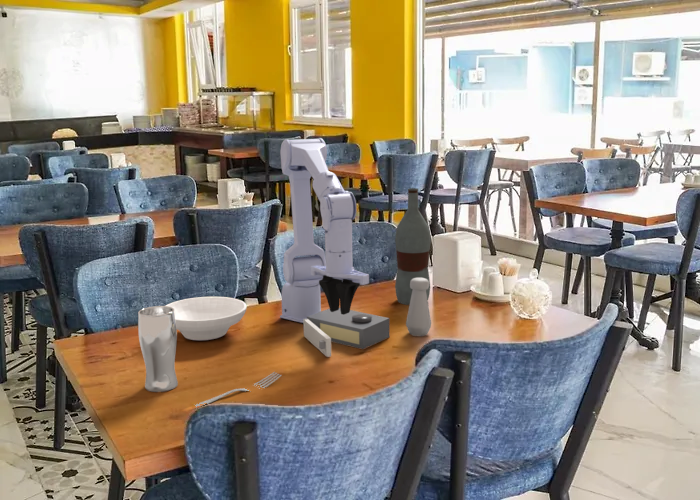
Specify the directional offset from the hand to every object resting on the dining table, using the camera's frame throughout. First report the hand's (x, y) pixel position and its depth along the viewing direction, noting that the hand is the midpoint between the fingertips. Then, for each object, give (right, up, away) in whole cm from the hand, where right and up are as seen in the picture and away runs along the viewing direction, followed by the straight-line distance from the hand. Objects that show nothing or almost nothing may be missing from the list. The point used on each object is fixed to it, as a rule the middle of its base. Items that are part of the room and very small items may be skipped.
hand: (339, 312), depth 159 cm
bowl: (-31, -7, +12) cm, 34 cm away
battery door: (-6, -8, +4) cm, 10 cm away
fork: (-21, -14, -23) cm, 34 cm away
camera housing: (+2, -6, +10) cm, 12 cm away
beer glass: (-34, -13, -17) cm, 40 cm away
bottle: (+19, 0, +38) cm, 42 cm away
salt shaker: (+18, -6, +11) cm, 22 cm away
